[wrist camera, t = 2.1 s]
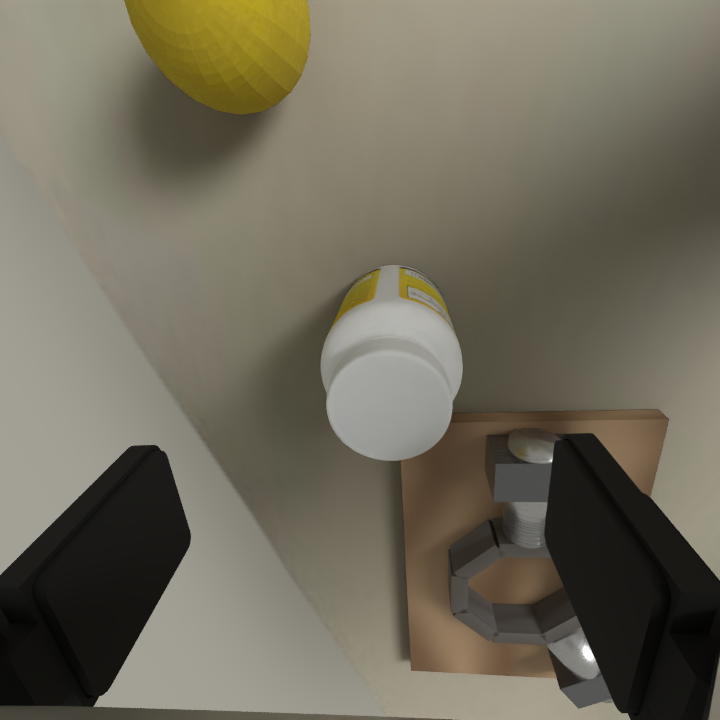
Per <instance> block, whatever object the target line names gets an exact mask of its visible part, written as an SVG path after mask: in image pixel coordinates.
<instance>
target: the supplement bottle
mask: <svg viewBox="0 0 720 720" xmlns="http://www.w3.org/2000/svg"><path fill="white" fill-rule="evenodd" d="M320 365H321V375H322V381H323V384H324V387H325V390H326V393H327V399H326V409H327V415H328V419H329V422H330V425H331V426H332V428H333V430H334V432H335V433H336V435H337V436H338V437H339V438H340V440H341V441H342V442H343V443H345V444H346V445H347V446H348V447H349V448H351V449H352V450H354V451H355V452H357V453H359V454H361V455H364V456H366V457H369V458H373V459H377V460H384V461H398V460H405V459H409V458H412V457H415V456H417V455H420V454H422V453H424V452H426V451H427V450H429V449H430V448H432V447H433V446H434V445H435V444H436V443H437V442H438V441H439V440H440V439H441V438H442V436H443V435H444V434H445V432H446V430H447V428H448V426H449V423H450V420H451V416H452V408H453V405H452V402H453V400H454V399H455V397H456V395H457V393H458V390H459V388H460V385H461V380H462V374H463V362H462V354H461V349H460V345H459V342H458V339H457V336H456V333H455V331H454V327H453V325H452V322H451V319H450V316H449V313H448V310H447V307H446V304H445V302H444V299H443V296H442V294H441V293H440V291H439V289H438V288H437V286H436V285H435V284H434V283H433V282H432V281H431V280H430V279H429V278H428V277H427V276H426V275H424V274H423V273H421V272H419V271H418V270H416V269H413V268H410V267H407V266H401V265H386V266H381V267H378V268H375V269H372V270H370V271H368V272H367V273H365V274H364V275H362V276H361V277H360V278H358V279H357V280H356V281H355V282H354V284H353V285H352V286H351V288H350V289H349V291H348V292H347V294H346V296H345V298H344V300H343V302H342V305H341V307H340V309H339V312H338V314H337V316H336V318H335V320H334V322H333V325H332V327H331V329H330V331H329V333H328V335H327V338H326V340H325V343H324V346H323V350H322V354H321V364H320Z"/></svg>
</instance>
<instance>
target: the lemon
mask: <svg viewBox="0 0 720 720" xmlns="http://www.w3.org/2000/svg"><path fill="white" fill-rule="evenodd" d="M124 1H125V4H126V8H127V11H128V14H129V17H130V20H131V24H132V26H133V28H134V30H135V32H136V34H137V35H138V37H139V39H140V41H141V43H142V45H143V47H144V49H145V51H146V52H147V53H148V55H149V56H150V57H151V59H152V60H153V61H154V62H155V64H156V65H157V66H158V67H159V69H160V70H161V71H162V72H163V74H164V75H165V76H166V77H167V78H168V79H169V80H170V81H171V82H172V83H173V84H175V85H176V86H177V87H178V88H180V89H181V90H182V91H183V92H185V93H186V94H187V95H188V96H190V97H191V98H192V99H194V100H196V101H198V102H200V103H202V104H204V105H206V106H209V107H211V108H213V109H215V110H218V111H221V112H228V113H234V114H249V113H256V112H262V111H264V110H266V109H268V108H270V107H272V106H274V105H276V104H278V103H279V102H280V101H281V100H282V99H284V98H285V97H286V96H287V95H288V94H289V93H290V92H291V91H292V90H293V88H294V86H295V85H296V83H297V82H298V80H299V79H300V77H301V75H302V72H303V69H304V66H305V64H306V61H307V58H308V51H309V44H310V36H311V33H310V19H309V7H308V3H307V0H124Z"/></svg>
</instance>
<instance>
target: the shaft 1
mask: <svg viewBox="0 0 720 720" xmlns="http://www.w3.org/2000/svg"><path fill="white" fill-rule="evenodd" d="M564 435H565V434H553V433H551V432H548V431H546V430H542V429H537V428H521V429H517V430H515V431H513V432H512V433H511V434H496V435H486V452H485V473H486V476H487V480H488V484H489V487H490V491H491V494H492V498H493V501H494V502H504V508H503V522H502V528H503V532H504V534H505V535H506V537H507V538H508V539H509V540H511V541H512V542H513V543H515V544H517V545H519V546H522V547H525V548H541V547H543V546H545V545H546V542H545V536H544V528H545V520H546V511H547V502H548V494H549V485H550V476H551V468H552V459H553V450H554V444H555V442H556V441H557V440H562V438H563V436H564Z"/></svg>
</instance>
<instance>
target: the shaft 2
mask: <svg viewBox="0 0 720 720" xmlns="http://www.w3.org/2000/svg"><path fill="white" fill-rule="evenodd" d="M545 645H546V646H547V647H548V651H549V655H550V658H551V661H552V664H553V668H554V671H555V674H556V677H557V681H558V684H559V687H560V690H561V691H562V692H563V693H564V694H565V695H566V696H567V697H568V698H569V699H570V700H571V701H572V702H573V703H574V704H575V705H576V706H577V707H578V708H582V707H586V706H589V705H592V704H595V703H599V702H605V703H612V702H613V700H612V697H611V695H610V693H609V690H608V688H607V686H606V683H605V681H604V679H603V676H602V674H601V672H600V669H599V667H598V665H597V662H596V660H595V658H594V655H593V653H592V651H591V648H590V646H589V644H588V641H587V639H586V637H585V635H584V632H583V630H582V628H579V629H577V630H575V631H573V632H571V633H569V634H568V635H566V636H564V637H562V638H560V639H558V640H556V641H554V642H552V643H551V644H549V643H548V642H546V641H545Z"/></svg>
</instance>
